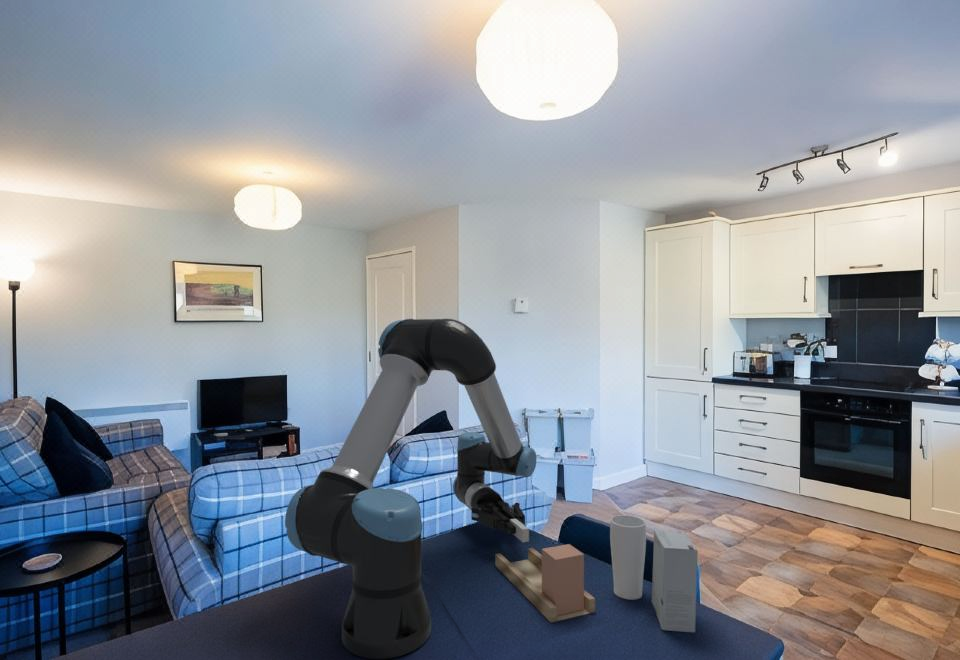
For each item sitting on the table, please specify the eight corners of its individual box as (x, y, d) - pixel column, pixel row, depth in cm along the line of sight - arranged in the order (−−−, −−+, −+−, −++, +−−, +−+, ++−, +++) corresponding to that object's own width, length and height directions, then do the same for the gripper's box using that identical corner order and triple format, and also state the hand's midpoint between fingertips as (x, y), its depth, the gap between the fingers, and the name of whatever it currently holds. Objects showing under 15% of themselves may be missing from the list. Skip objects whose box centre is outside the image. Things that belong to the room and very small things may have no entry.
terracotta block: (541, 602, 96) (541, 548, 96) (569, 596, 98) (569, 544, 98) (555, 615, 91) (555, 559, 91) (584, 609, 94) (583, 554, 94)
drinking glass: (611, 604, 98) (611, 525, 98) (608, 587, 104) (608, 513, 104) (648, 608, 96) (648, 528, 96) (643, 590, 103) (643, 515, 103)
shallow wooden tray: (495, 569, 112) (495, 554, 112) (532, 562, 115) (532, 547, 115) (550, 628, 90) (550, 608, 90) (594, 617, 93) (595, 598, 93)
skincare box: (651, 607, 97) (650, 528, 97) (684, 608, 96) (683, 529, 96) (662, 632, 88) (662, 546, 89) (698, 634, 88) (698, 547, 88)
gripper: (507, 513, 133) (552, 548, 111) (460, 519, 129) (497, 558, 107) (507, 484, 133) (552, 513, 111) (460, 489, 129) (497, 521, 107)
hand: (525, 535), depth 109 cm, fingers closed
